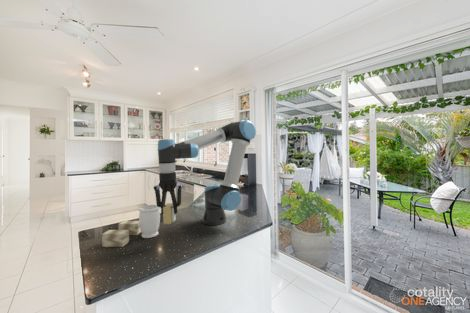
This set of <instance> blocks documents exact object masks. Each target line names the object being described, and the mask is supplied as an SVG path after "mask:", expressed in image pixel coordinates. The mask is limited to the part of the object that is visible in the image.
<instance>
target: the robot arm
mask: <svg viewBox="0 0 470 313" xmlns="http://www.w3.org/2000/svg"><path fill="white" fill-rule="evenodd" d="M256 134H257V130H256V127H255V125H254V123H253V122H252V121H251V120H247V119H245V120H240V121H235V122H231V123H228V124H226V125H223V126H221V127H218V128H217V129H216V130H215V131H212V132H211V131H210V132H208V133H205V134H203V135H202V134H201V135H199V136H196V137H192V138H189V139H187V140H184V141H181V142H179V143H178V142H177V143H176V142H175V139H173V138H172V139H169V138H167V139H165V138H163V139H159V140H158V142H157V155H158V172H159V173H158V177H159V179H158V180H159V182H158V184H157V185H154V186H153V190H154V193H155V201H156V202H155V203H156V205H157V207H160V212H161V213H160V215H163V207H164V206H165V205H166V200H167V193H168V192H169V194H170V197H171V203H173V208H172V222H175V221H176V220H177V216H176V215H177V214H178V207H180V206H181V205H182V189H183V184H179V183H178V181H177V173H176V160H179V159H183V160H184V159H194V158H197V157H198V156H199V152H200V151H199V150H202V149H205V148H208V147H210V146H213V145H216V144H218V143H225V142H231V143H232V145H231V150H230V153H229V158H228V162H227V166H226V171H225V175H224V179H223V182H222V183H220V184H219V183H218V184H210V185H209V184H208V185H206V186H205V187H204V212H203V215H202V220H201V221H202V224H204V225H206V226H207V225H208V226H219V225H223V224H225V223H226V222H227V215H226V212H225V211H228V212H232V211H235V210H236V209H238V207H239V206H240V205H241V203H242V196H241V193H240V187H239V181H240V175H241V172H242V166H243V163H244V159H245V155H246V149H247V147H248V146H249V145H250V143H251V140H253V139H255V136H256ZM160 189H161V190H162V191H161V190H160ZM175 189H177V190H175ZM175 191H177V193H175ZM176 194H177V195H176ZM162 217H163V216H162ZM163 220H164V217H163Z"/></svg>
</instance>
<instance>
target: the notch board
mask: <svg viewBox="0 0 470 313" xmlns="http://www.w3.org/2000/svg"><path fill="white" fill-rule="evenodd" d="M140 233H142V232H141V229H140V224H139V220H123V221H120V222H119V223H118V229H108V230H106V231H104V232H103V233H101V241H102V242H101V244H102V245H101V246H102V247H104V248H106V247H107V248H108V247H110V248H111V247H113V248H114V247H115V248H117V247H122V248H123V247H125V245H127V244H128V243H129V242H130V236H138V235H139V234H140Z"/></svg>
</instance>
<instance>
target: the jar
mask: <svg viewBox="0 0 470 313" xmlns="http://www.w3.org/2000/svg"><path fill="white" fill-rule="evenodd" d="M160 210H161V207H157V204H148V205H142V206H140V207H139V208H138V211H139V215H138V221H139V224H140V229H141V232H140V233H141V238H144V239H149V238H154V237H157V236H158V235H159V228H160V224H161V222H160V221H161V213H160V212H161V211H160Z"/></svg>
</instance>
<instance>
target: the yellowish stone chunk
mask: <svg viewBox="0 0 470 313" xmlns="http://www.w3.org/2000/svg"><path fill="white" fill-rule="evenodd" d="M172 208H173V203H172V202H170V203H165V206H164V207H163V214H162V215H163V216H162V217H164V219H163V225H172V223H173V222H172Z"/></svg>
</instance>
